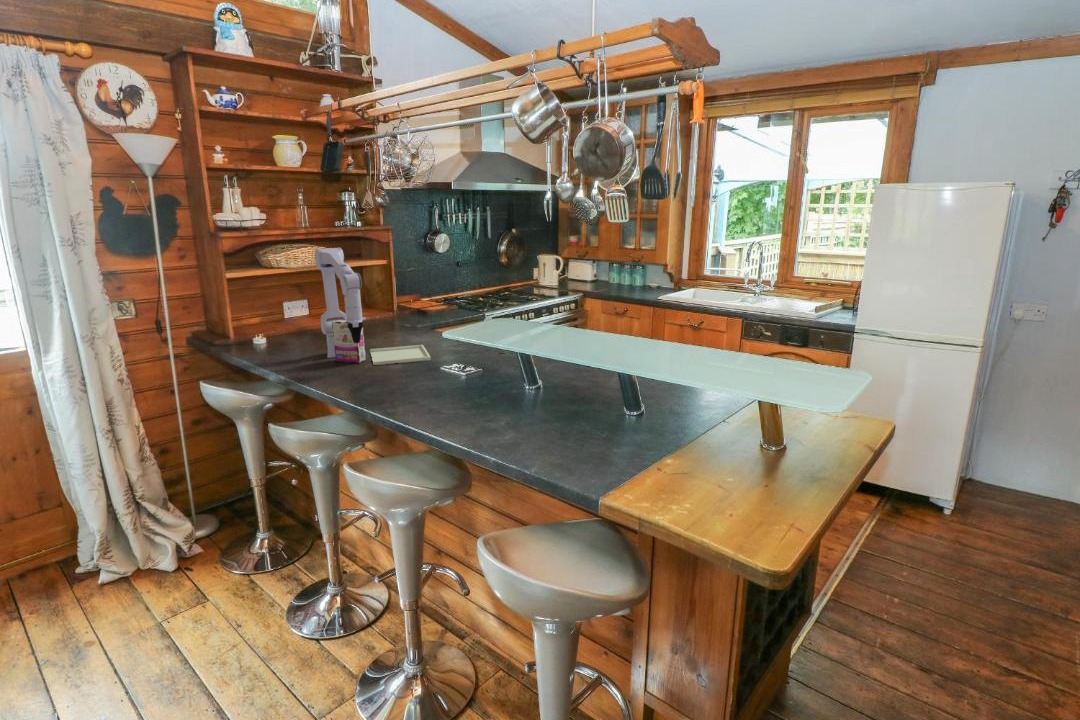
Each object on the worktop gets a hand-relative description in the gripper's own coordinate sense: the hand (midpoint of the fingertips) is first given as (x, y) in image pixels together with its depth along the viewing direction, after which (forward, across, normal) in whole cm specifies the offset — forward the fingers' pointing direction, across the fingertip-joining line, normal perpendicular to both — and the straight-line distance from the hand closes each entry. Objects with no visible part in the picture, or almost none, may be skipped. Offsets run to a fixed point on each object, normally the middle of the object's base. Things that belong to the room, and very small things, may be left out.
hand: (356, 342), depth 220 cm
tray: (+10, +14, -16) cm, 24 cm away
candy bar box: (+11, +14, +2) cm, 18 cm away
